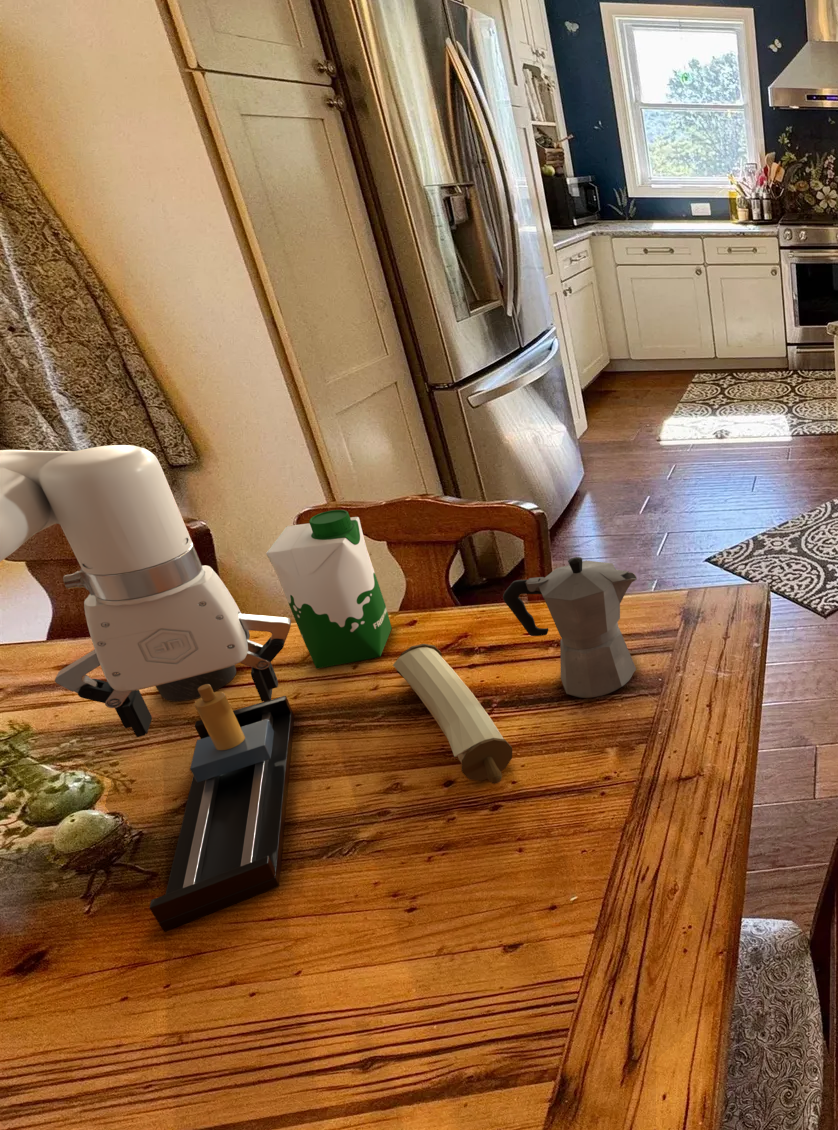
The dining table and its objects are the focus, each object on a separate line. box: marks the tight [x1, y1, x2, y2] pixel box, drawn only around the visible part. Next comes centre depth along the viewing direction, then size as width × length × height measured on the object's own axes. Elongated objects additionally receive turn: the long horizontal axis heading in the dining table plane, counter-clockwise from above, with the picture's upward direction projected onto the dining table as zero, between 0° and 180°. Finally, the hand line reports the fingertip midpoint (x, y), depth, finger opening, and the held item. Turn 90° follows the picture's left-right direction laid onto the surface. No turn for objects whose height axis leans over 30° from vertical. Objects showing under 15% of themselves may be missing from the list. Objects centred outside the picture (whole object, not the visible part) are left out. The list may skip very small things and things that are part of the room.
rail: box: [149, 695, 295, 932], centre depth 80 cm, size 8×28×3 cm, turn 36°
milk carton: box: [265, 509, 393, 670], centre depth 101 cm, size 9×9×20 cm
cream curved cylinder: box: [392, 643, 513, 785], centre depth 91 cm, size 32×6×5 cm, turn 47°
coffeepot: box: [502, 556, 638, 699], centre depth 97 cm, size 15×9×18 cm, turn 104°
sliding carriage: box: [190, 684, 274, 782], centre depth 82 cm, size 6×5×10 cm
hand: (208, 710), depth 81 cm, fingers open, 9 cm apart
